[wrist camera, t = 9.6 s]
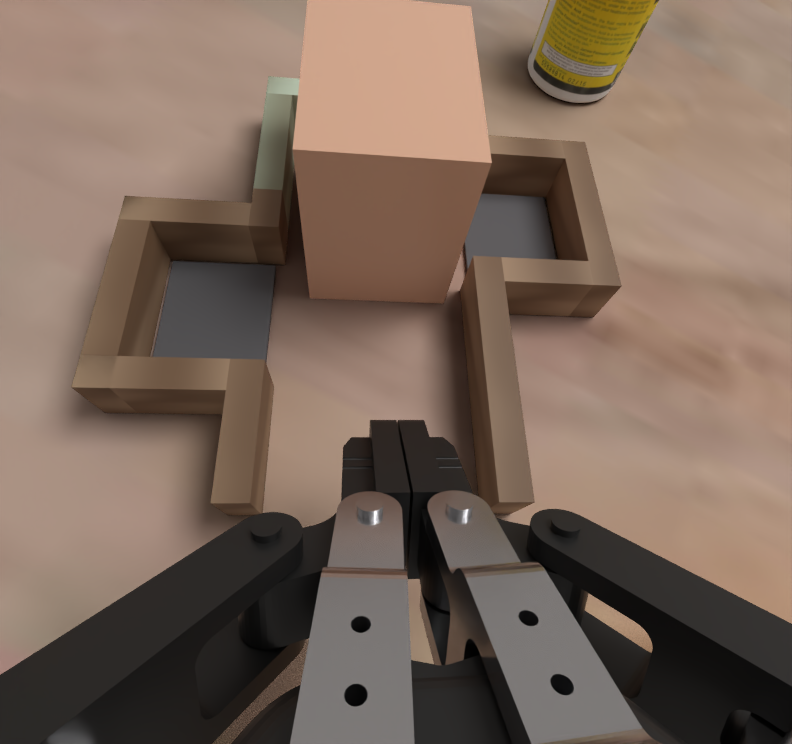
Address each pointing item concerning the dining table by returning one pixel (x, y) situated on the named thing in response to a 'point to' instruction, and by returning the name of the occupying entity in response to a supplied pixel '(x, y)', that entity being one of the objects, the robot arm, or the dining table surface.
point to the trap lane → (267, 244)
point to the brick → (388, 147)
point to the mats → (254, 284)
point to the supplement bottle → (585, 45)
